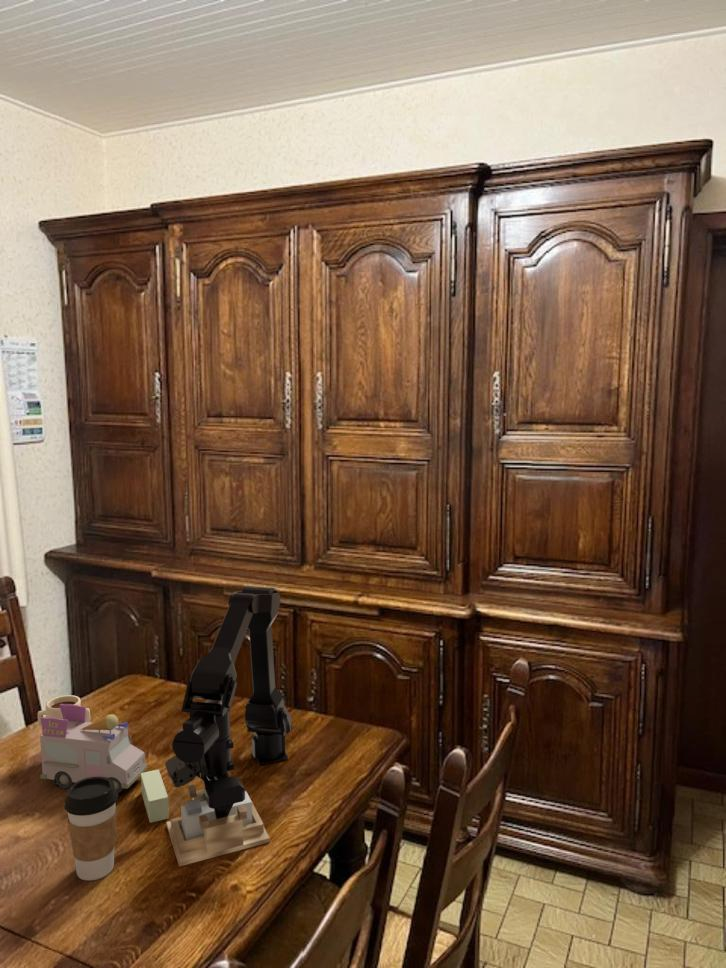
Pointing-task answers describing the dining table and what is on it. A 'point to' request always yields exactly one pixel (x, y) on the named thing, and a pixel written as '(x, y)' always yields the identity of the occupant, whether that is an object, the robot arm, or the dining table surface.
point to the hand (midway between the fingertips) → (216, 815)
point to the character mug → (54, 707)
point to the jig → (216, 834)
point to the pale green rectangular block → (154, 796)
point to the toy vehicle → (88, 749)
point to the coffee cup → (92, 825)
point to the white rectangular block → (196, 809)
